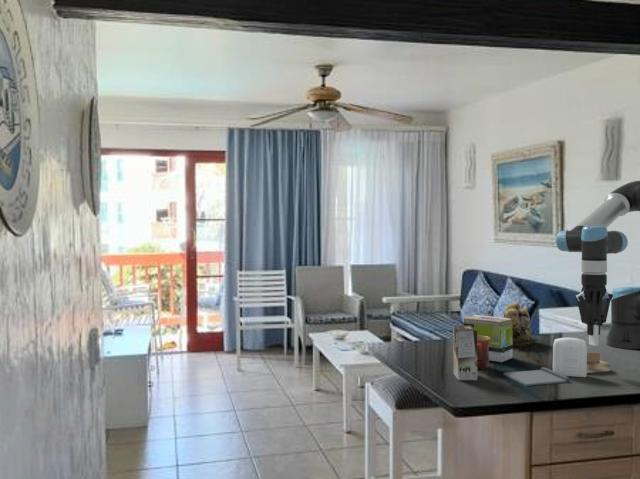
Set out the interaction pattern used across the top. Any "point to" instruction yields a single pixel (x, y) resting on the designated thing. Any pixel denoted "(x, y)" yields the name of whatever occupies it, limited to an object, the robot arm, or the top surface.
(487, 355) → the mug
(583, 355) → the photo printer
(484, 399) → the top surface
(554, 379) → the mat
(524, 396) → the top surface
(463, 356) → the coffee box
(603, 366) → the rest
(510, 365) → the top surface
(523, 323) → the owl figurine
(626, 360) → the top surface
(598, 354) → the tall brown carton
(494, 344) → the tea box
